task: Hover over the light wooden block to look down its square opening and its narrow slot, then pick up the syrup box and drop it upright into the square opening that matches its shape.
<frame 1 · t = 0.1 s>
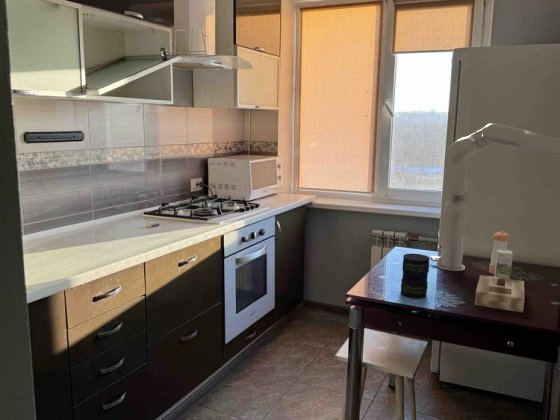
socket block: (499, 298, 192), on the table
storage jar: (413, 295, 193), on the table
syrup box: (501, 285, 210), on the table
salt shaker: (497, 273, 227), on the table
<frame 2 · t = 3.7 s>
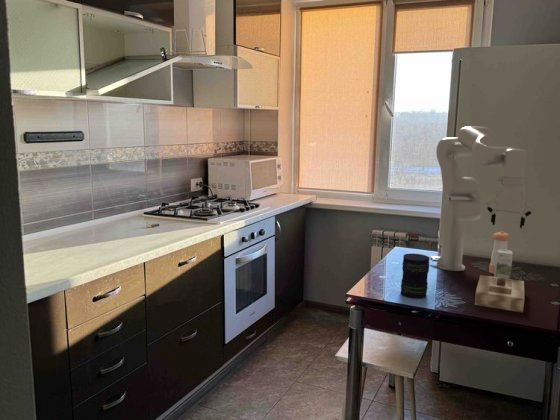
hand: (507, 226, 194), 27 cm above the table, tool pointing down, fingers open, 9 cm apart
nothing on the table moved.
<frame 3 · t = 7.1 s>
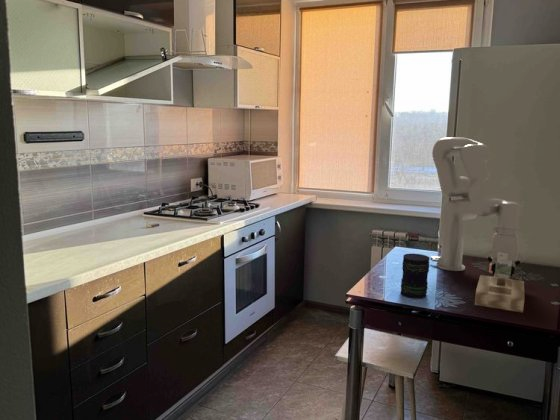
hand: (502, 273, 209), 5 cm above the table, tool pointing down, fingers closed on syrup box, 6 cm apart
syrup box: (501, 285, 210), on the table, touching gripper
everything else where it was.
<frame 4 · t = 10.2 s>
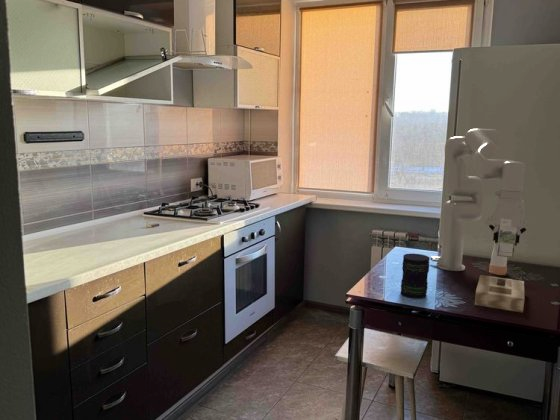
hand: (505, 243, 186), 22 cm above the table, tool pointing down, fingers closed on syrup box, 6 cm apart
syrup box: (504, 255, 187), point 17 cm above the table, touching gripper
everything else where it was.
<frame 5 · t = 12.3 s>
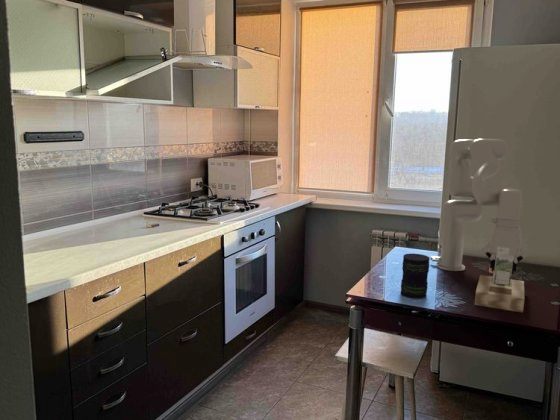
hand: (502, 271, 185), 12 cm above the table, tool pointing down, fingers closed on syrup box, 6 cm apart
syrup box: (501, 283, 185), point 8 cm above the table, touching gripper
everything else where it was.
when the fingers open (7 cm above the table, at t = 13.7 s): syrup box drops 2 cm, resting on socket block.
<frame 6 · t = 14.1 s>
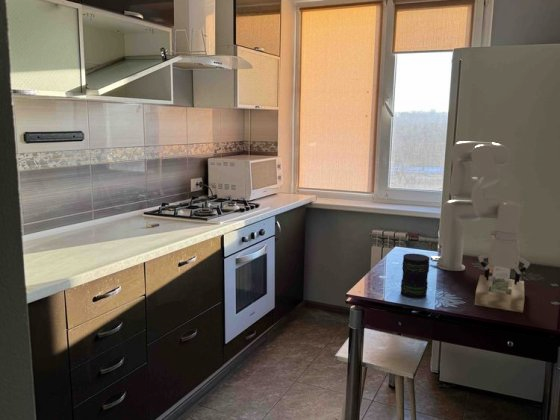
hand: (501, 281, 185), 8 cm above the table, tool pointing down, fingers open, 9 cm apart
syrup box: (498, 302, 187), resting on socket block
everything else where it was.
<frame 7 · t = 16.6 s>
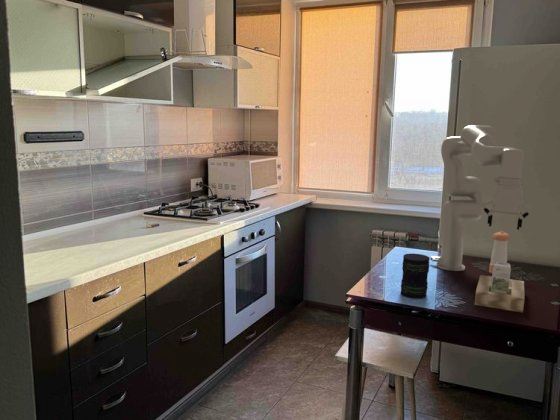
hand: (503, 227, 189), 27 cm above the table, tool pointing down, fingers open, 9 cm apart
nothing on the table moved.
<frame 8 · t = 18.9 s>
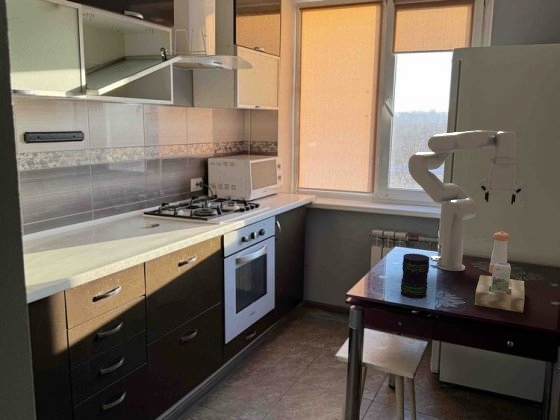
hand: (499, 202, 211), 33 cm above the table, tool pointing down, fingers open, 9 cm apart
nothing on the table moved.
at the end: syrup box 0.4 cm from the target spot on the socket block, point 0.2 cm above the socket block's base; syrup box tilted 0°; the gripper is holding nothing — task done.
